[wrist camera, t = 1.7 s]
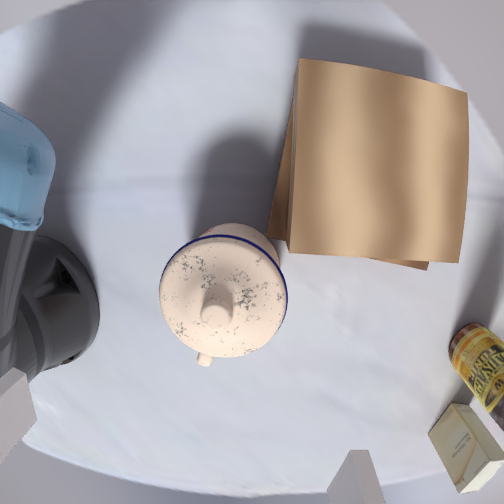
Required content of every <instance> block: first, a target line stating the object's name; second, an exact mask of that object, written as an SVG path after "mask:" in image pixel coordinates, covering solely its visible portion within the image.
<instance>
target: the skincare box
mask: <svg viewBox="0 0 504 504" xmlns="http://www.w3.org/2000/svg"><path fill="white" fill-rule="evenodd" d="M428 436H429V438H430V440H431V442H432V444H433V445H434V447H435V449H436V451H437V453H438V455H439V456H440V458H441V460H442V462H443V464H444V466H445V468H446V470H447V472H448V474H449V476H450V478H451V479H452V481H453V483H454V485H455V487H456V489H457V491H458V493H459V494H464V493H471V492H477V491H479V490H480V489H481V488H482V487H483V486H484V485H485V484H486V483H487V482H488V481H489V480H490V478H491V477H493V476H494V474H495V473H496V472H497V471H498V470H499V469H500V467H502V465H503V464H504V452H503V450H502V449H501V447H500V446H499V445H498V443H497V442H496V440H495V439H494V438H493V436H492V435H491V434H490V432H489V431H488V429H487V428H486V427H485V425H484V424H483V423H482V421H481V420H480V419H479V417H478V416H477V415H476V413H475V412H474V411H473V409H472V408H471V407H470V406H469V405H464V404H456V403H451V404H450V406H449V407H448V408H447V410H446V411H445V412H444V414H443V415H442V417H441V418H440V419H439V420H438V422H437V423H436V424H435V426H434V427H433V428H432V429H431V431H430V432H429V434H428Z"/></svg>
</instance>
